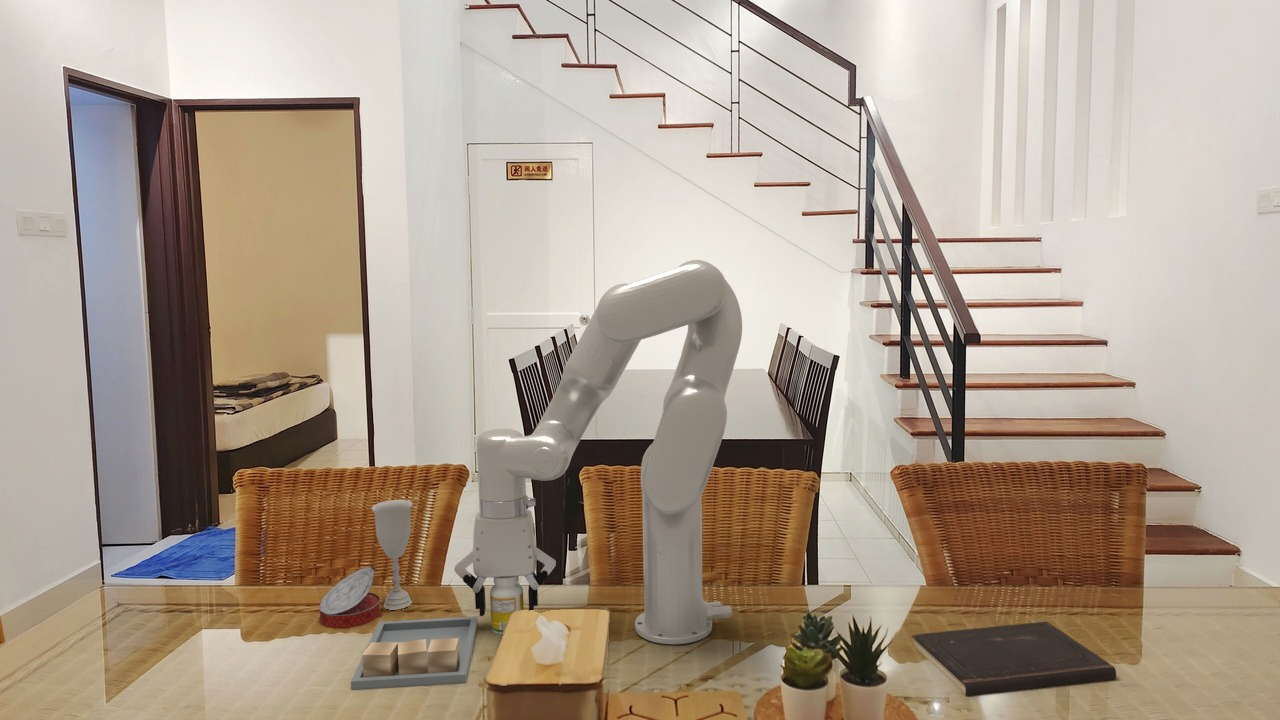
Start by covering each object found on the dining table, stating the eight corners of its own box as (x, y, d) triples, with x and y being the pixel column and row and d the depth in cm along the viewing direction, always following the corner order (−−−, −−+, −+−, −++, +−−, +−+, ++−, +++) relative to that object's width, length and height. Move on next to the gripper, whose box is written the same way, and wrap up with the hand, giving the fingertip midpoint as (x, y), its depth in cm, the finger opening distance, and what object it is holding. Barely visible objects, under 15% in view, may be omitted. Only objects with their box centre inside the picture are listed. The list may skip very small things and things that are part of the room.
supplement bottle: (506, 640, 141) (504, 583, 140) (484, 631, 144) (482, 575, 143) (531, 628, 145) (529, 572, 144) (509, 620, 148) (507, 565, 147)
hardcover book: (911, 648, 137) (911, 634, 136) (1046, 635, 140) (1047, 621, 140) (966, 700, 121) (966, 684, 121) (1116, 683, 125) (1116, 668, 125)
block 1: (399, 667, 131) (398, 642, 130) (391, 681, 127) (389, 654, 126) (373, 667, 131) (371, 642, 131) (363, 681, 127) (362, 654, 127)
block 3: (459, 663, 132) (458, 638, 131) (456, 676, 128) (455, 650, 128) (432, 665, 132) (431, 639, 131) (428, 678, 128) (427, 651, 127)
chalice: (406, 614, 151) (400, 513, 149) (369, 611, 153) (363, 511, 150) (424, 597, 158) (419, 500, 156) (390, 595, 160) (384, 499, 157)
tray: (478, 626, 146) (477, 616, 146) (465, 686, 126) (465, 674, 126) (379, 632, 145) (379, 621, 144) (351, 693, 125) (350, 681, 125)
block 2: (427, 664, 132) (425, 639, 131) (427, 676, 128) (426, 650, 128) (399, 668, 131) (398, 642, 130) (399, 680, 127) (397, 654, 127)
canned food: (373, 652, 148) (366, 614, 142) (313, 646, 148) (304, 608, 142) (392, 598, 157) (387, 560, 151) (336, 593, 157) (328, 555, 151)
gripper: (557, 497, 146) (560, 599, 149) (450, 502, 145) (455, 605, 147) (557, 511, 139) (560, 618, 141) (445, 516, 137) (450, 624, 140)
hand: (507, 610), depth 144 cm, fingers open, 7 cm apart
